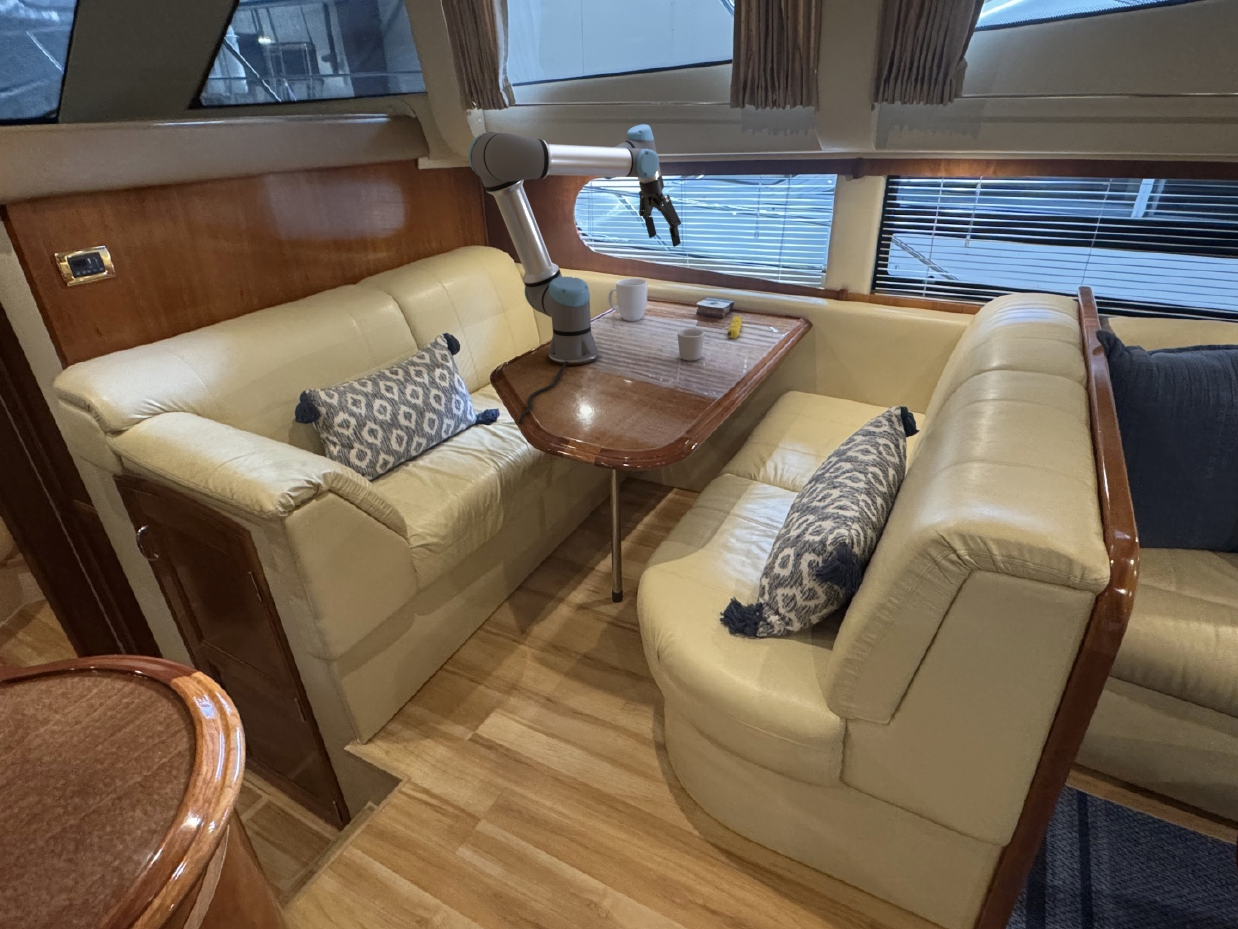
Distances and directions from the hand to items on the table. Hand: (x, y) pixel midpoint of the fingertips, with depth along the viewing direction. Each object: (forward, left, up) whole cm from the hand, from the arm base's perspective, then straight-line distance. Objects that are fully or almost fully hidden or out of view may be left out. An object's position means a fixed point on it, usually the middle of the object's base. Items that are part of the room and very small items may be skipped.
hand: (664, 240), depth 224 cm
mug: (0, +13, -27) cm, 30 cm away
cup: (-37, -15, -27) cm, 49 cm away
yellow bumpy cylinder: (-11, -26, -27) cm, 39 cm away
